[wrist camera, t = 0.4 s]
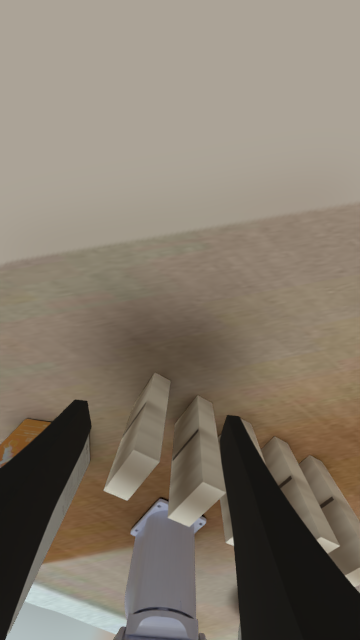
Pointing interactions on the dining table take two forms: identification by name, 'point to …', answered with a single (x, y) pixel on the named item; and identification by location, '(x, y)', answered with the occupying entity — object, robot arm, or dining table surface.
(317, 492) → the domino
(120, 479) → the domino
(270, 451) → the domino
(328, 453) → the dining table surface
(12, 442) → the small box
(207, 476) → the domino
